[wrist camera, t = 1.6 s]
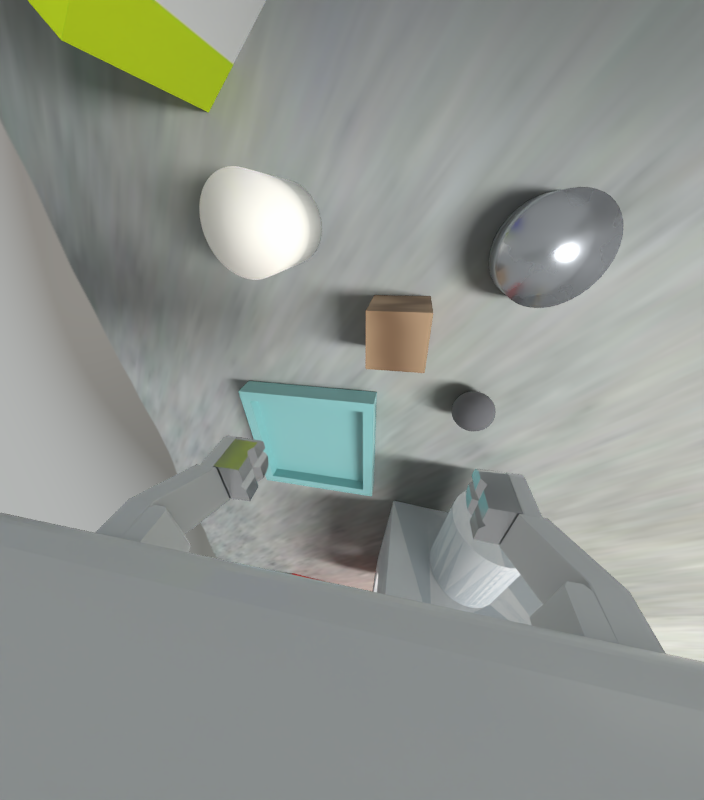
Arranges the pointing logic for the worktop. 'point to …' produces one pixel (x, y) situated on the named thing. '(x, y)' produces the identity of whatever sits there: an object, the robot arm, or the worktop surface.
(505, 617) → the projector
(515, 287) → the grey metal dome
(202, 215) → the ceramic jar
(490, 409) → the rubber ball
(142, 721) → the robot arm
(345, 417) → the tray
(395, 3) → the worktop surface
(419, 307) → the walnut block
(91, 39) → the puzzle toy
